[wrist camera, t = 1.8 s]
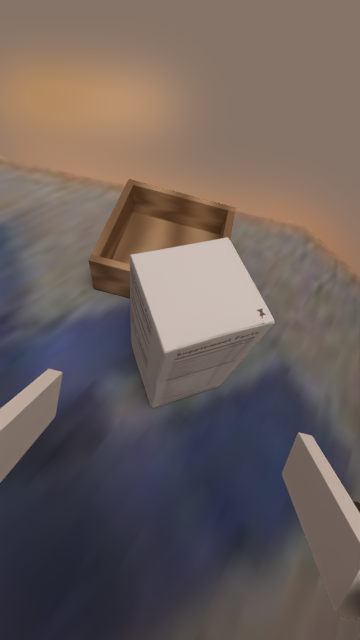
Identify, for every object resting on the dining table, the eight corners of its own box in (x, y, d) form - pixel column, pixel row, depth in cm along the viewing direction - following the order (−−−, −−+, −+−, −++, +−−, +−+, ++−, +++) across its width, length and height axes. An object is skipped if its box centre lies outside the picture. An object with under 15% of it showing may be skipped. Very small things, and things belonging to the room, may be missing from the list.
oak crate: (93, 288, 41) (88, 260, 36) (128, 211, 50) (128, 179, 45) (209, 318, 42) (220, 294, 36) (224, 236, 50) (235, 207, 45)
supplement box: (196, 323, 41) (232, 233, 26) (222, 386, 37) (282, 320, 23) (127, 340, 38) (126, 251, 24) (148, 410, 34) (162, 353, 20)
